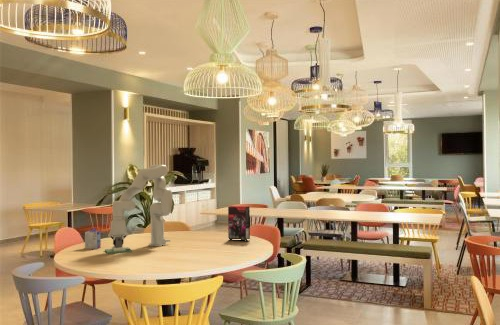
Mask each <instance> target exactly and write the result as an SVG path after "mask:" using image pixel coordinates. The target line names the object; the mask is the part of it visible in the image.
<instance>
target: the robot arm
mask: <svg viewBox="0 0 500 325" xmlns="http://www.w3.org/2000/svg"><path fill="white" fill-rule="evenodd" d="M168 172H169V169H168V167H167V165H166V164H152V165H149V167H148V168H141V169H139V170H138V172H137V173H136V176H135V178H134V179H133V181H132V183H131V185H130V186H129V187H128V188H127V189H126V190H124V192H123V193H122V194H121V196H120V197H119V199H118V200H114V201H113V202H112V220H111V221H110V231H109V232H108V235H107V237H109V238H111V239H112V246H116V240H115V237H116V236H121V237H122V246H123V245H124V240H125V239H126V238H127V236H129V235H130V234H129V233H128V231H127V227H126V226H127V225H126V219H127V216H125V212H126V211H127V212H128V211H129V212H131V211H134V210H135V209H136V206H137V204H136V202H135V201H134V200H131V199H132V198H133V197H134V196H135V195H137V194H140V193H141V192H142V191H143V190H144V188H145V186H146V184H147V182H148V181H153V195H152V199H154V200H155V201H156V202H153V203H152V204H151V205H150V207H149V215H150V242H149V243H148V246H149V247H163V246H166V245H167V243H170V242H171V239H170V238H168V239H166V238H165V220H164V217H167V216H169V215H170V213H171V212H172V204H173V192H172V190H171V189H169V188H167V186H166V185H167V184H166V183H167V182H166V181H167V180H166V177H165V176H166V175H168ZM162 245H163V246H162Z"/></svg>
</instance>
